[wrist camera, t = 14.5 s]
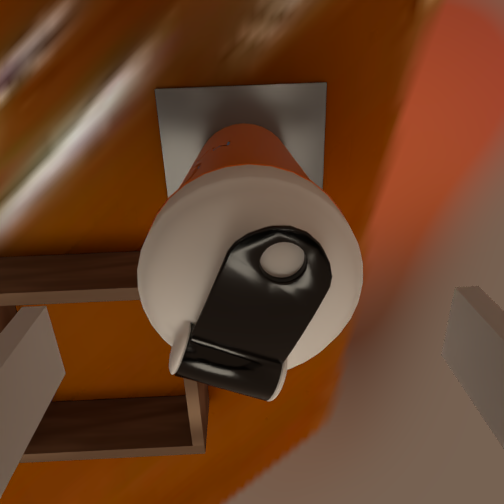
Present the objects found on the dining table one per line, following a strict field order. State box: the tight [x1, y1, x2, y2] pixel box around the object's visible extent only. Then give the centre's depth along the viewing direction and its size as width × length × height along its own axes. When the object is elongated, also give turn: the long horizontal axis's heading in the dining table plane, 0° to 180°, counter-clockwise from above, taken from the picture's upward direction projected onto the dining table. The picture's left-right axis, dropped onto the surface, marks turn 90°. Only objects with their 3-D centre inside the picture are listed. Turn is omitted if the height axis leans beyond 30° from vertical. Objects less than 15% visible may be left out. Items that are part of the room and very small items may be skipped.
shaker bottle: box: [137, 123, 363, 401], centre depth 23 cm, size 9×9×20 cm
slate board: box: [155, 82, 327, 198], centre depth 32 cm, size 12×12×1 cm
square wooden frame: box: [0, 251, 209, 463], centre depth 36 cm, size 17×17×6 cm
